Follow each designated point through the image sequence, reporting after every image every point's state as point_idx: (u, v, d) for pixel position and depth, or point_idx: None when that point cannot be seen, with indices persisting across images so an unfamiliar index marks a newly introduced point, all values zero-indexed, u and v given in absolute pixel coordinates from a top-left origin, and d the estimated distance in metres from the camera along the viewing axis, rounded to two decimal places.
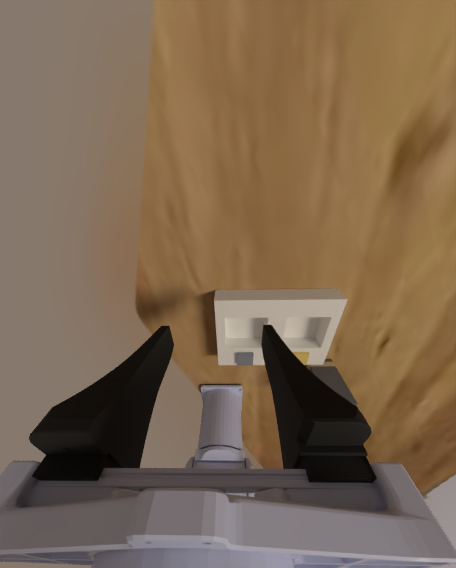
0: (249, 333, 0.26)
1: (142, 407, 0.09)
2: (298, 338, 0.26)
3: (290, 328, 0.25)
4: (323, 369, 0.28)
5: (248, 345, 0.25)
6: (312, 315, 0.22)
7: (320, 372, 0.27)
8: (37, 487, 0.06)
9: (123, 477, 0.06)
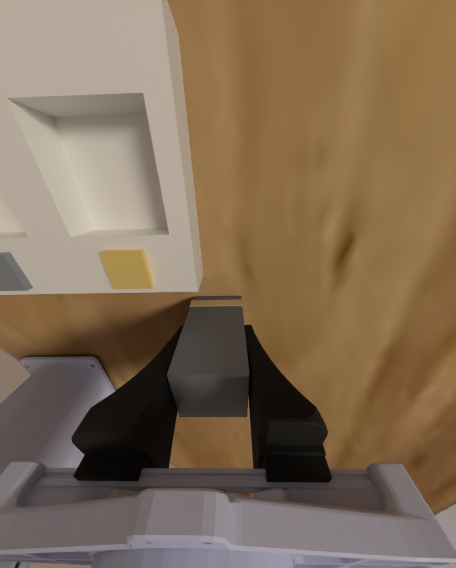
0: None
1: (170, 407, 0.09)
2: (138, 229, 0.11)
3: (109, 198, 0.10)
4: (213, 310, 0.13)
5: None
6: (80, 86, 0.07)
7: (202, 315, 0.12)
8: (37, 487, 0.06)
9: (123, 477, 0.06)
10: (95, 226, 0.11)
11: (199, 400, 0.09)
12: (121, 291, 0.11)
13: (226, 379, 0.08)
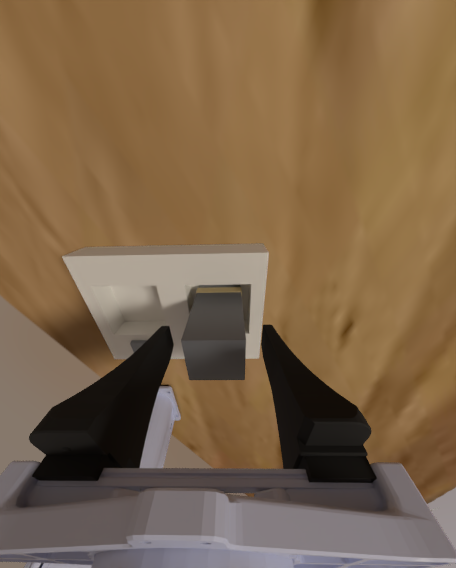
0: (154, 314, 0.18)
1: (142, 407, 0.09)
2: None
3: None
4: (216, 295, 0.15)
5: (148, 330, 0.18)
6: (221, 281, 0.14)
7: (207, 299, 0.14)
8: (37, 487, 0.06)
9: (123, 477, 0.06)
10: None
11: (206, 364, 0.12)
12: None
13: (228, 344, 0.11)
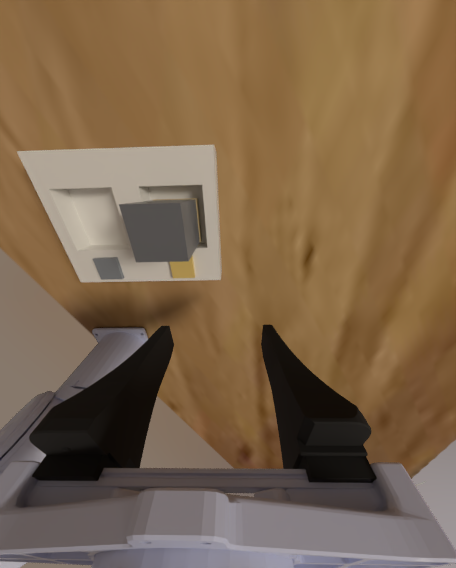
0: (119, 236, 0.19)
1: (142, 407, 0.09)
2: None
3: None
4: (170, 200, 0.15)
5: (111, 248, 0.18)
6: (173, 182, 0.15)
7: (160, 200, 0.15)
8: (37, 487, 0.06)
9: (123, 477, 0.06)
10: None
11: (148, 238, 0.12)
12: (175, 279, 0.19)
13: (164, 209, 0.11)
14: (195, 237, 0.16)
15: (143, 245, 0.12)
